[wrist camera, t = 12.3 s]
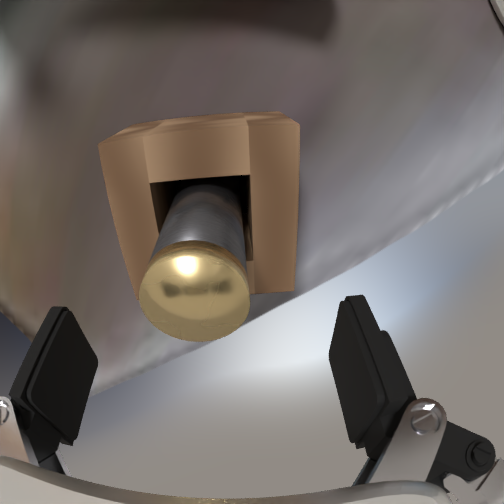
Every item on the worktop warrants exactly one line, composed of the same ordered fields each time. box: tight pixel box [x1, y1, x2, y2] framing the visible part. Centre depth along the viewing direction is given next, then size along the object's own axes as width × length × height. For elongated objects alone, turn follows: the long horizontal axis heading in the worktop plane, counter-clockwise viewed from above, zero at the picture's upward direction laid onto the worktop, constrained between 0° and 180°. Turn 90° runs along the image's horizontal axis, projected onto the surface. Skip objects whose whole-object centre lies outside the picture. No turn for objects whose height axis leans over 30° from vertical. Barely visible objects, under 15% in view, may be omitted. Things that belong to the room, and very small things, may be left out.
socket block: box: [98, 112, 300, 300], centre depth 21 cm, size 11×11×7 cm
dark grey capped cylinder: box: [139, 175, 250, 342], centre depth 18 cm, size 4×4×14 cm
